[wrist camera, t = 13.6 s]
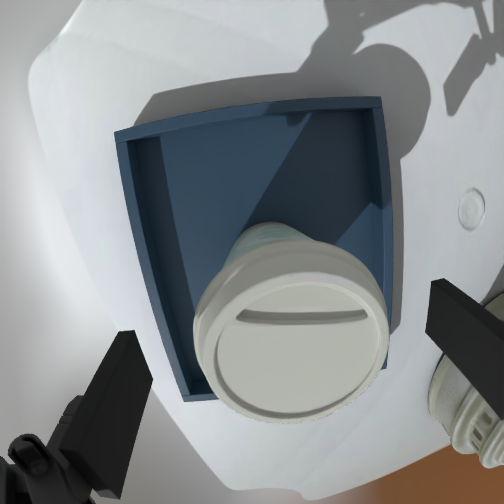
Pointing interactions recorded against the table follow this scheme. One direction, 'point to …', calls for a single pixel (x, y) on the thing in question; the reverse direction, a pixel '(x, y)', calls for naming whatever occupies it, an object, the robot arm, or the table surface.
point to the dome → (467, 409)
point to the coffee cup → (290, 327)
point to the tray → (251, 199)
